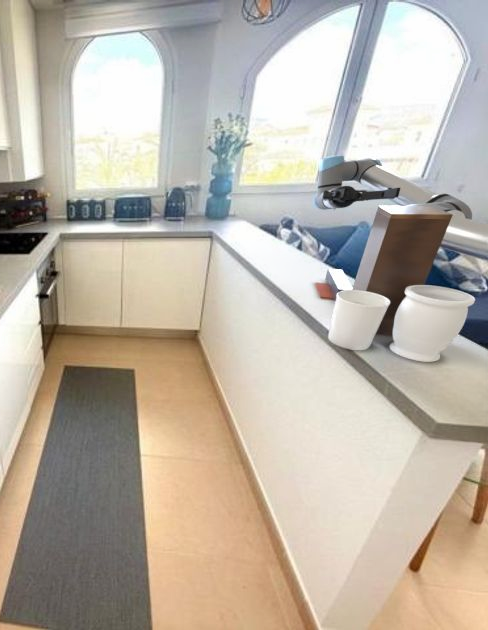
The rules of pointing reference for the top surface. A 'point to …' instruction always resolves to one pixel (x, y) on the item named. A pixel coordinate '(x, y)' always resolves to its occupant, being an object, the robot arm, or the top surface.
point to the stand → (400, 253)
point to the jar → (428, 321)
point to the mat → (324, 291)
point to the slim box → (337, 281)
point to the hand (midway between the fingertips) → (371, 192)
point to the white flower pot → (356, 318)
